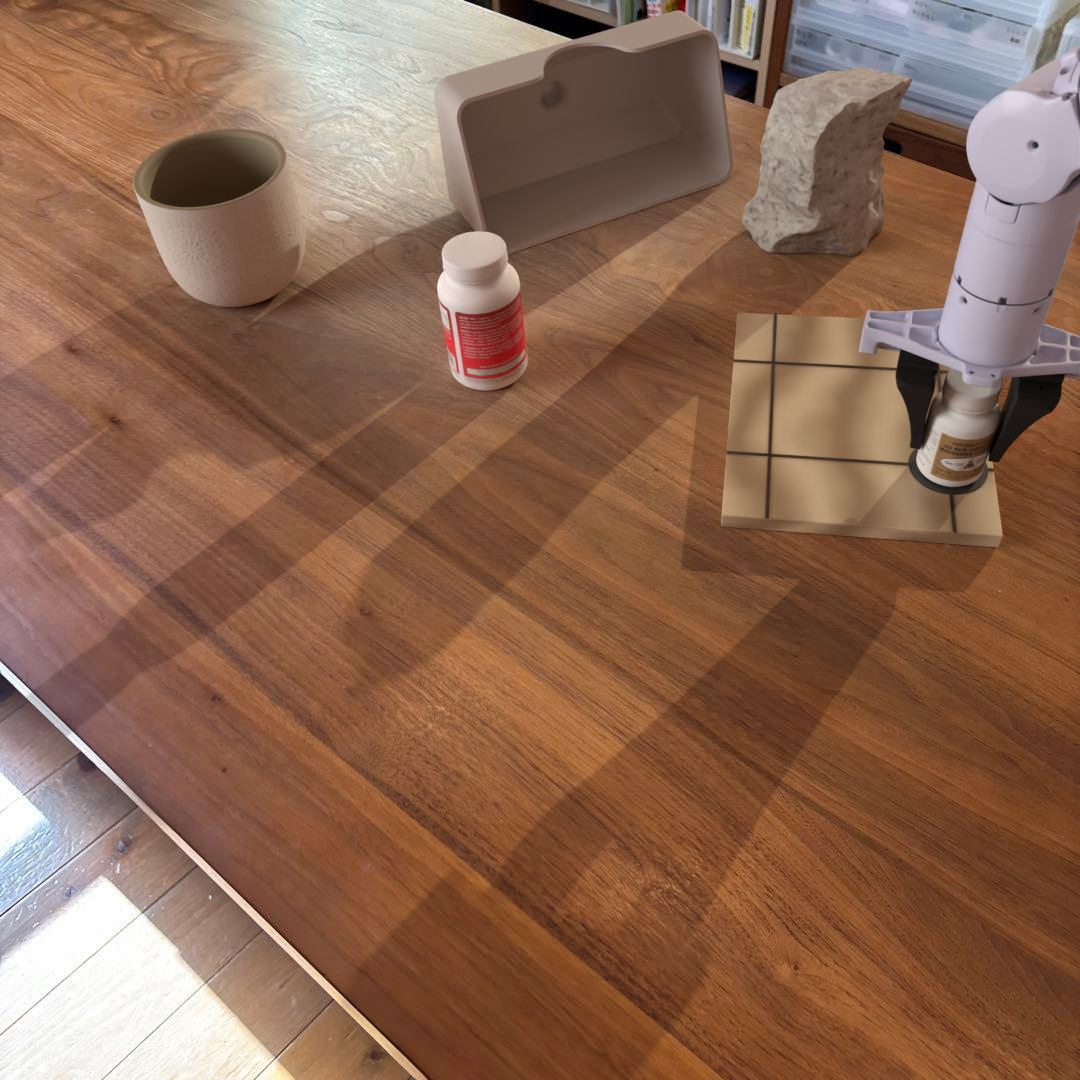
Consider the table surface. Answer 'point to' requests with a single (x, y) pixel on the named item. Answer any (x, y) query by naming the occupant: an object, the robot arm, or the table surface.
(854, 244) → the decorative stone
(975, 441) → the pill bottle
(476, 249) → the pill bottle
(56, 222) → the table surface
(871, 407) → the board
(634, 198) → the grey storage bin
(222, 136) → the planter
